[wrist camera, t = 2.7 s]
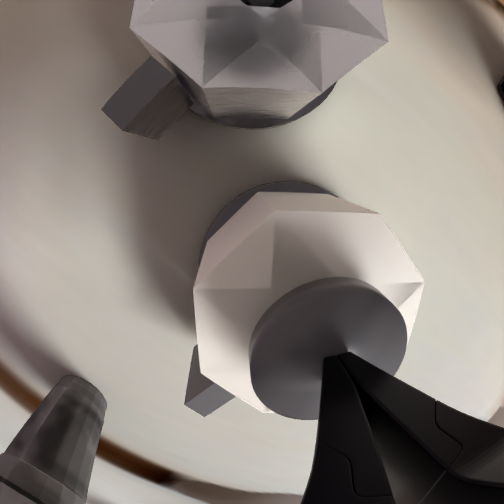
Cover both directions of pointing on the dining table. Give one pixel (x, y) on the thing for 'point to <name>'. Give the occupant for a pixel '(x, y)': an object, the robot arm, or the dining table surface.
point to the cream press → (282, 275)
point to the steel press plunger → (261, 2)
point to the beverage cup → (55, 447)
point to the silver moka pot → (241, 60)
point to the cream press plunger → (320, 340)
